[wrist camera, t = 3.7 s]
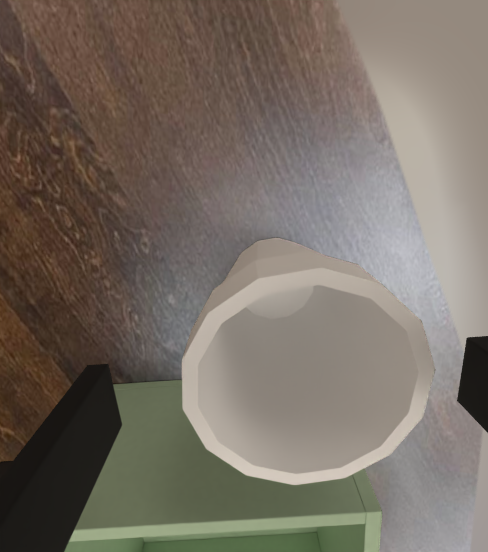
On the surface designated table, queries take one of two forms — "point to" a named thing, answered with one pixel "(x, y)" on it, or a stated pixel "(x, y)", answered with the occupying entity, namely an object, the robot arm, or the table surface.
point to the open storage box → (209, 494)
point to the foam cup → (303, 367)
